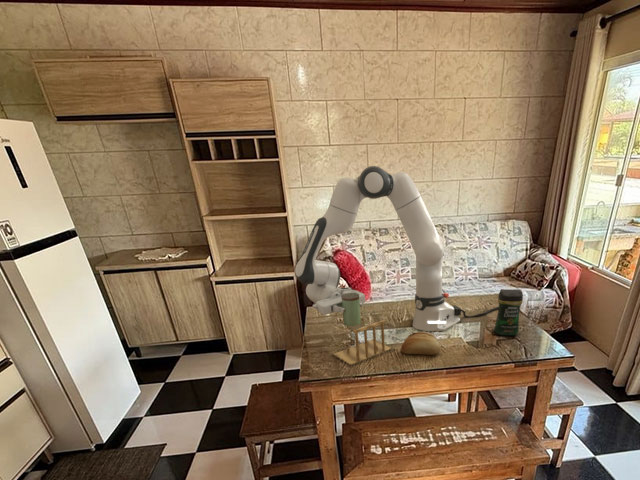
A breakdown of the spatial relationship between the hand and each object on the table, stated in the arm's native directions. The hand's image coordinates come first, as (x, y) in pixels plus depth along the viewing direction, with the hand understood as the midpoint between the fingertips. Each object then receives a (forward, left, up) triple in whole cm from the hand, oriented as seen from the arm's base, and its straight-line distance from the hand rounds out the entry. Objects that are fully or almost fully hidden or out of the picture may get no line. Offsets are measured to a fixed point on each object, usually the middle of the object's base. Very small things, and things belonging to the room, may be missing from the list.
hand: (352, 307), depth 154 cm
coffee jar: (-54, +32, -17) cm, 66 cm away
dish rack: (+1, +5, -17) cm, 18 cm away
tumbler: (0, -1, -6) cm, 6 cm away
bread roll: (-15, +21, -17) cm, 31 cm away
